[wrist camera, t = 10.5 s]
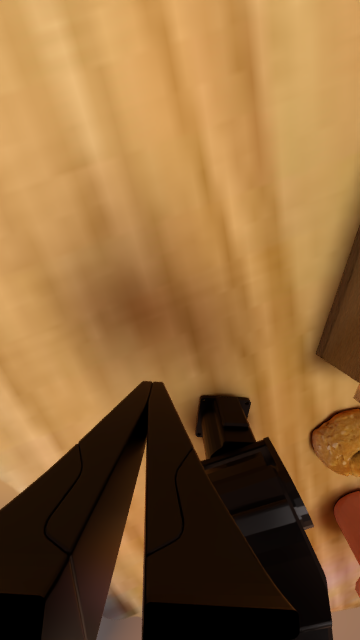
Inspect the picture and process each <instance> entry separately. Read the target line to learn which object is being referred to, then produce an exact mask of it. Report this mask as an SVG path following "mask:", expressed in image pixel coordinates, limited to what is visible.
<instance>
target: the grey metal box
mask: <svg viewBox="0 0 360 640" xmlns="http://www.w3.org/2000/svg"><path fill="white" fill-rule="evenodd" d="M316 354H317V355H318V356H320V357H321V358H323V359H324V360H326V361H327V362H329V363H330V364H332V365H333V366H335V367H336V368H338V369H339V370H341V371H342V372H344V373H345V374H347V375H348V376H350V377H351V378H353V379H354V380H356V381H357V382H359V383H360V227H359V229H358V232H357V235H356V238H355V241H354V244H353V247H352V250H351V253H350V256H349V259H348V262H347V265H346V268H345V271H344V273H343V276H342V279H341V282H340V285H339V288H338V291H337V294H336V297H335V300H334V303H333V306H332V309H331V312H330V314H329V317H328V320H327V323H326V326H325V329H324V332H323V335H322V338H321V341H320V344H319V347H318V350H317V353H316Z"/></svg>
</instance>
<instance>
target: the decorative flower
mask: <svg viewBox="0 0 360 640" xmlns="http://www.w3.org/2000/svg"><path fill="white" fill-rule="evenodd" d="M334 516H335V518H336V521H337V523H338V525H339V527H340V529H341V531H342V532H343V534H344V536H345V538H346V540H347V542H348V544H349V546H350V548H351V550H352V551H353V553H354V555H355V557H356V559H357V561H358V563H359V565H360V491H356V492H353V493H350V494H347V495H346V496H344V497H342V498H341V499H339V501H338V502H337V503H336V505H335V507H334ZM355 590H356V591H357V593H358V595H359V597H360V578H359V579H358V581H357V582H356V587H355Z"/></svg>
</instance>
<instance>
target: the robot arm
mask: <svg viewBox="0 0 360 640" xmlns="http://www.w3.org/2000/svg"><path fill="white" fill-rule="evenodd" d="M203 400H204V401H203ZM245 402H247V403H245ZM250 405H251V402H250V400H249V399H248V398H236V397H219V396H201V397H200V401H199V408H198V415H197V423H196V430H195V434H196V436H197V437H203V440H204V447H205V454H206V460H203V461H200V460H199V458H198V455H197V453H196V451H195V449H193V445H192V443H191V441H190V439H189V437H188V435H187V432H186V430H185V428H184V426H183V424H182V422H181V420H180V417H179V415H178V413H177V411H176V409H175V407H174V405H173V403H172V400H171V398H170V396H169V394H168V392H167V390H166V388H165V386H164V384H163V382H153V383H152V382H151V381H143V382H141V383H140V384H139V385H138V386H137V387H136V388H135V389H134V390H133V391H132V392H131V393H130V394H129V395H128V396H127V397H125V398H124V399H123V400H122V401H121V402H120V403H119V404H118V405H117V406H116V407H115V408H114V409H113V410H112V411H111V412H110V413H109V414H108V415H106V416H105V417H104V418H103V419H102V420H101V421H100V422H99V423H98V424H97V425H96V426H95V427H94V428H93V429H92V430H91V431H90V432H89V433H87V434H86V435H85V436H84V437H83V438H82V439H81V440H80V441H79V443H78V444H76V445H75V446H74V447H73V448H72V449H70V450H69V451H68V452H67V453H66V454H65V455H64V456H63V457H62V458H61V459H60V460H59V461H57V462H56V463H55V464H54V465H53V466H52V467H51V468H50V469H49V470H48V471H46V472H45V473H44V474H43V475H42V476H40V477H39V478H38V479H37V480H36V481H35V482H33V483H32V484H31V485H30V486H29V487H27V488H26V489H25V490H24V491H23V492H21V493H20V494H19V495H18V496H17V497H15V498H14V499H13V500H12V501H11V502H9V503H8V504H7V505H6V506H4V507H3V508H2V509H1V510H0V640H96V638H97V634H98V630H99V626H100V622H101V618H102V614H103V610H104V606H105V603H106V599H107V595H108V591H109V587H110V583H111V579H112V575H113V571H114V567H115V563H116V559H117V555H118V551H119V548H120V544H121V540H122V536H123V532H124V528H125V524H126V520H127V516H128V512H129V508H130V504H131V500H132V496H133V493H134V489H135V485H136V481H137V477H138V473H139V469H140V465H141V461H142V457H143V453H144V449H145V445H146V440H147V447H146V487H145V526H144V565H143V605H142V640H333V635H332V618H331V611H330V604H329V597H328V588H327V581H326V577H325V574H324V571H323V569H322V567H321V565H320V563H319V561H318V558H317V556H316V554H315V552H314V550H313V548H312V546H311V543H310V541H309V539H308V537H307V535H306V533H305V530H306V529H309V528H312V527H314V525H313V523H312V520H311V518H310V516H309V514H308V512H307V510H306V507H305V505H304V503H303V501H302V499H301V497H300V495H299V493H298V491H297V489H296V487H295V485H294V483H293V481H292V479H291V477H290V476H289V474H288V472H287V470H286V468H285V466H284V465H283V463H282V461H281V459H280V457H279V456H278V454H277V452H276V450H275V448H274V446H273V445H272V443H271V441H270V439H269V437H266V438H263V440H261V441H258V442H256V440H255V438H254V435H253V433H252V431H251V428H250V426H249V423H248V421H247V417H248V413H249V409H250Z"/></svg>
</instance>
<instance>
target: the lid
mask: <svg viewBox="0 0 360 640" xmlns="http://www.w3.org/2000/svg"><path fill="white" fill-rule="evenodd" d="M353 398H354V399H355V400H357V401H358V402H359V403H360V384H359V386H358V388H357V390H356V393H355V395H354V397H353Z"/></svg>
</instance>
